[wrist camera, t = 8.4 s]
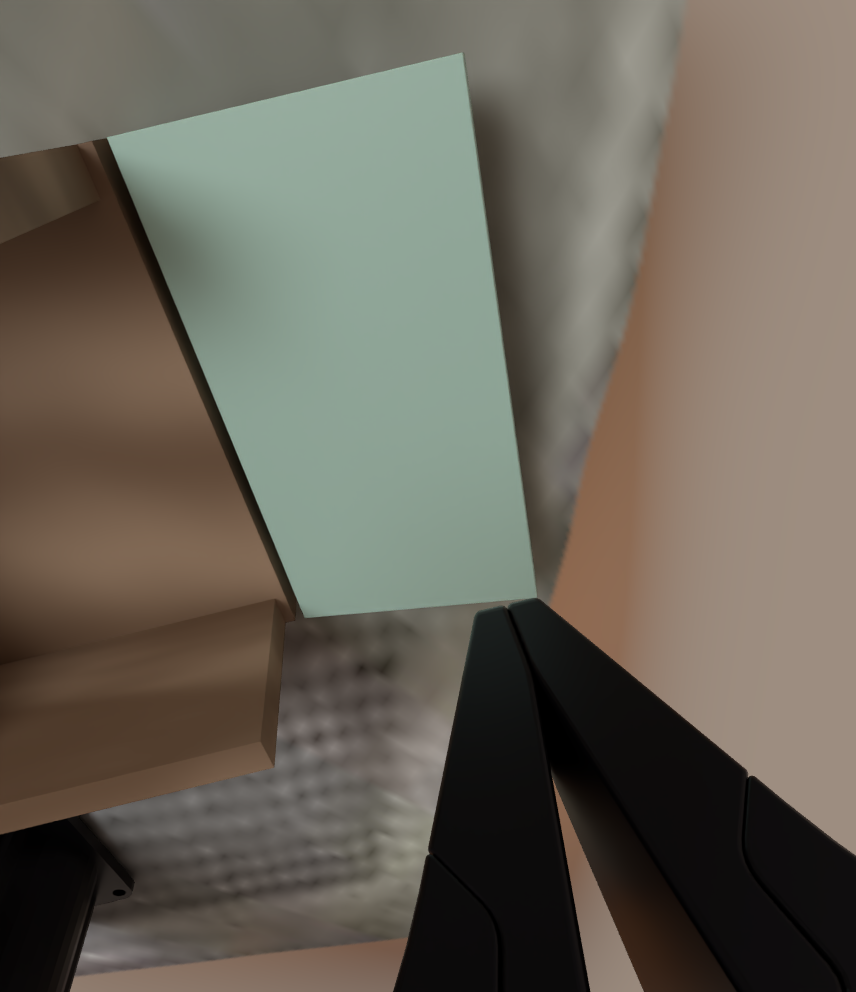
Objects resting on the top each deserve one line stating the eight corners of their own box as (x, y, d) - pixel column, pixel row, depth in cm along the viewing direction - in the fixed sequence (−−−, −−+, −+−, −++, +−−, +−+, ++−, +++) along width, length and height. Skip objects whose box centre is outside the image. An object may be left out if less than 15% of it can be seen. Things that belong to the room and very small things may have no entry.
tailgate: (312, 595, 20) (535, 574, 19) (304, 618, 19) (537, 597, 18) (130, 132, 13) (464, 52, 12) (106, 137, 12) (462, 52, 11)
